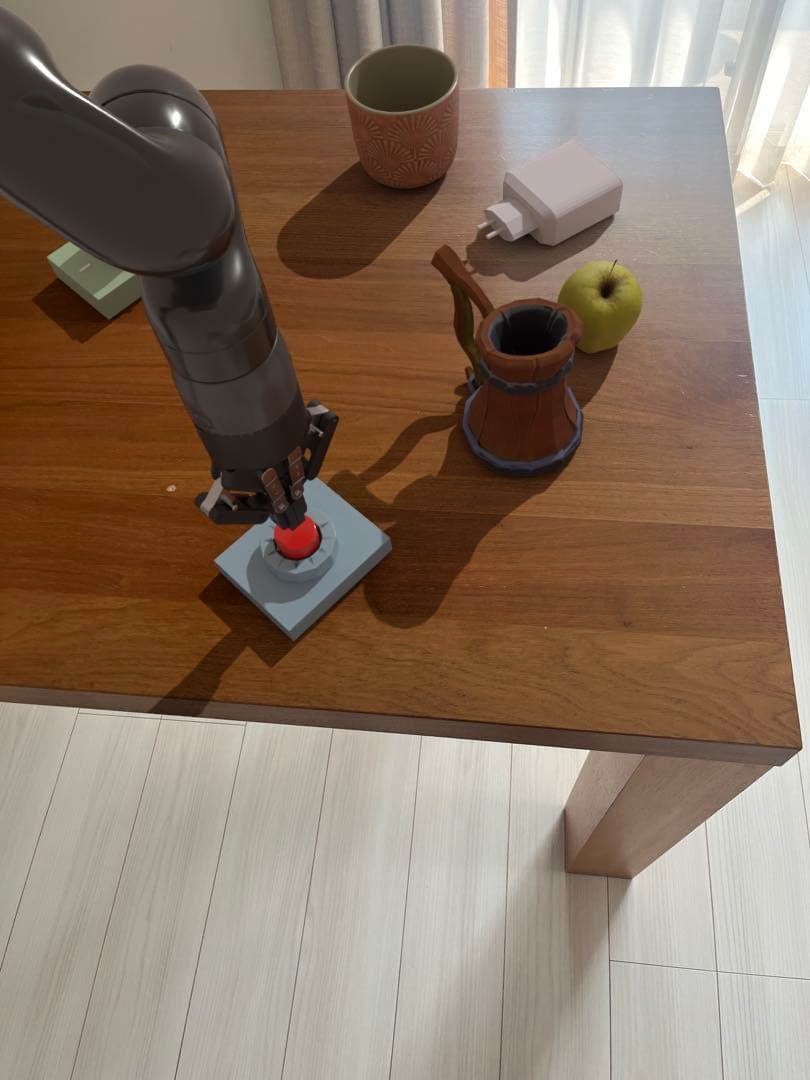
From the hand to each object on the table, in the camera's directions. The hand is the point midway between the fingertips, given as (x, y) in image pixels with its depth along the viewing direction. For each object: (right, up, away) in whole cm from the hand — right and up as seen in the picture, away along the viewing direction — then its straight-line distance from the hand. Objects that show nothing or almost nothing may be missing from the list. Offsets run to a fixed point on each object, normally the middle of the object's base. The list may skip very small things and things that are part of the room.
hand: (291, 520), depth 73 cm
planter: (+10, +42, +31) cm, 54 cm away
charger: (+24, +33, +25) cm, 48 cm away
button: (0, -2, +3) cm, 4 cm away
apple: (+29, +19, +16) cm, 38 cm away
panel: (-22, +29, +27) cm, 45 cm away
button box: (+1, -4, +6) cm, 7 cm away
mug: (+19, +11, +13) cm, 25 cm away
